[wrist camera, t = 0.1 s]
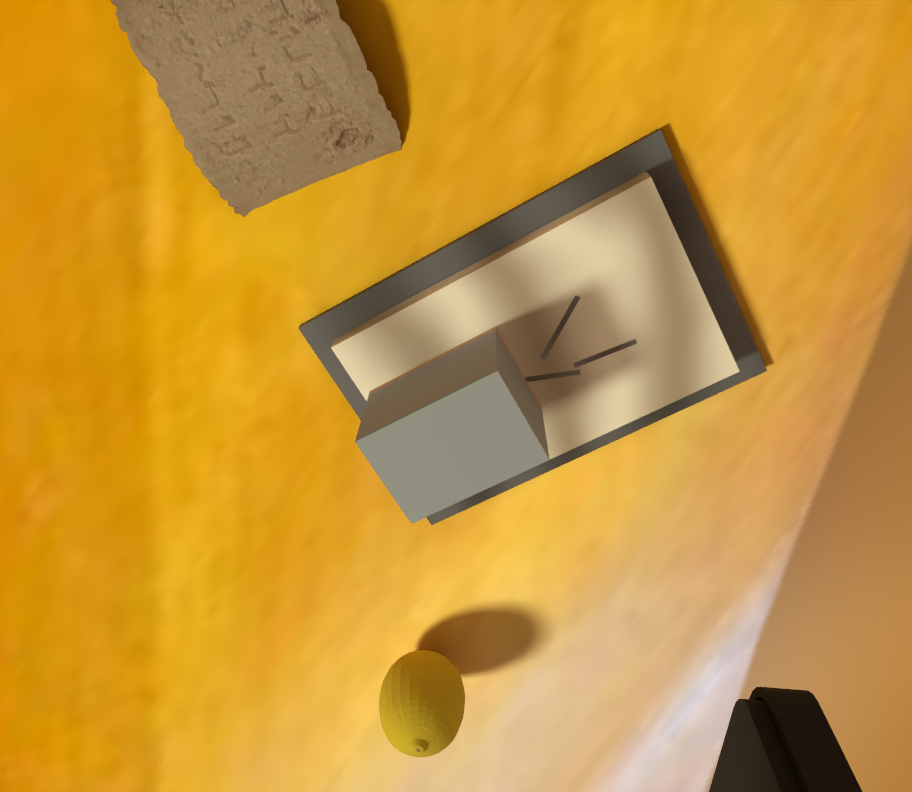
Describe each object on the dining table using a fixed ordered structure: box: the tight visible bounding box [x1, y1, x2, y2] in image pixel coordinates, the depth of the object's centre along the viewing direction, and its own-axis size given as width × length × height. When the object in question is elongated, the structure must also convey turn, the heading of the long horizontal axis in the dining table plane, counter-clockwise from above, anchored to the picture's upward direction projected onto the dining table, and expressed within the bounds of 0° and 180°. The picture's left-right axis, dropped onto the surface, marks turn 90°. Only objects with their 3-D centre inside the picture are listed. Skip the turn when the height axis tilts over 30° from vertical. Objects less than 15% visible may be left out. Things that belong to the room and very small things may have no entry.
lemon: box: [379, 650, 465, 757], centre depth 53 cm, size 6×6×8 cm
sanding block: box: [355, 327, 550, 524], centre depth 44 cm, size 8×6×6 cm
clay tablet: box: [111, 0, 402, 216], centre depth 41 cm, size 14×10×3 cm
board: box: [299, 129, 767, 525], centre depth 46 cm, size 22×15×2 cm
